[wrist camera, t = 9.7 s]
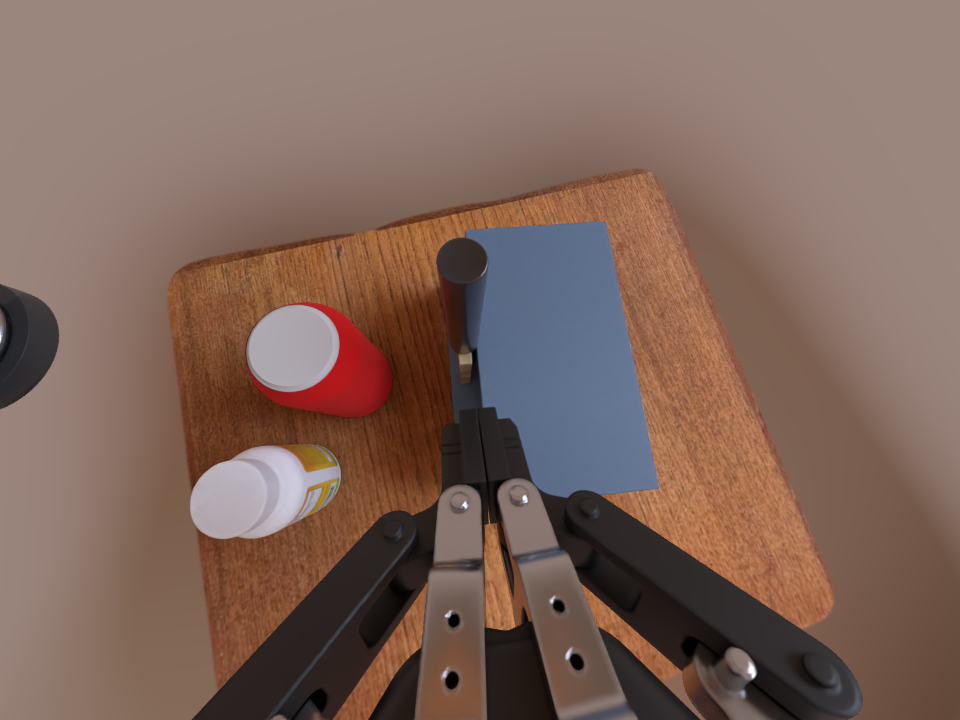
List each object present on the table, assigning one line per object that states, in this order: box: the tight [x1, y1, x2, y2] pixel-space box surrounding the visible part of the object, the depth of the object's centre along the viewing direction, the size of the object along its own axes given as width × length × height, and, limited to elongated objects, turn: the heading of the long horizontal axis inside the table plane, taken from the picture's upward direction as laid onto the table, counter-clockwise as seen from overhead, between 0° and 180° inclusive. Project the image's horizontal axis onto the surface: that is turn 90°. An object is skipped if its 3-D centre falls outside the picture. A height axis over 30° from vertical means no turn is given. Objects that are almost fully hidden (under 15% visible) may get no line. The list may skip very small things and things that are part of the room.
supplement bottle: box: [190, 444, 341, 539], centre depth 23 cm, size 5×5×10 cm
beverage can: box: [245, 302, 393, 418], centre depth 24 cm, size 6×6×12 cm
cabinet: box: [446, 221, 659, 498], centre depth 26 cm, size 12×18×9 cm, turn 6°
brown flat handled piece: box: [436, 238, 489, 384], centre depth 21 cm, size 2×8×18 cm, turn 6°
